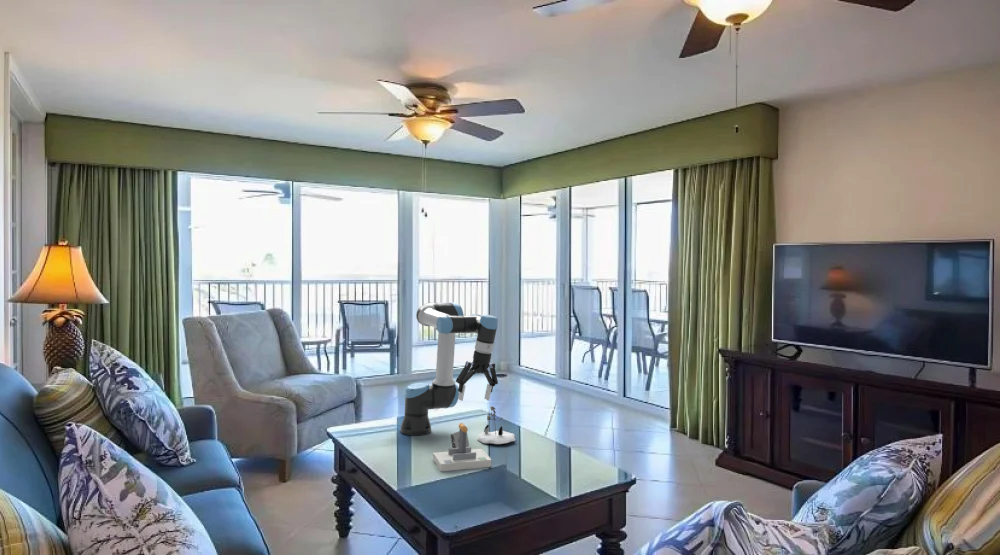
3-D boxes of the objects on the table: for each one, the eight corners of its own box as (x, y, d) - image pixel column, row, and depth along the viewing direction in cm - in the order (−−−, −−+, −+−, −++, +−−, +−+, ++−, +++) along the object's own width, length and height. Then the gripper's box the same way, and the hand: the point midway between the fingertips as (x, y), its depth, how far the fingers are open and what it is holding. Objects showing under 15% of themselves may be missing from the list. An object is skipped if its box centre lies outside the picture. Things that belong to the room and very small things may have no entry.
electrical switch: (457, 452, 263) (456, 433, 263) (449, 450, 265) (449, 432, 266) (469, 447, 269) (468, 429, 269) (462, 446, 272) (461, 428, 272)
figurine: (524, 441, 279) (523, 407, 279) (492, 447, 268) (491, 412, 269) (500, 433, 295) (499, 401, 296) (469, 439, 285) (468, 406, 285)
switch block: (432, 459, 252) (433, 447, 251) (481, 455, 259) (481, 443, 259) (440, 471, 239) (441, 458, 238) (491, 466, 246) (491, 454, 246)
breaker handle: (457, 453, 251) (458, 423, 250) (462, 452, 252) (464, 422, 251) (461, 457, 246) (462, 427, 245) (466, 457, 247) (467, 426, 246)
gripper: (462, 352, 237) (453, 402, 238) (511, 355, 251) (502, 402, 253) (453, 347, 243) (444, 396, 244) (501, 350, 257) (492, 396, 259)
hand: (473, 399), depth 249 cm, fingers open, 13 cm apart
